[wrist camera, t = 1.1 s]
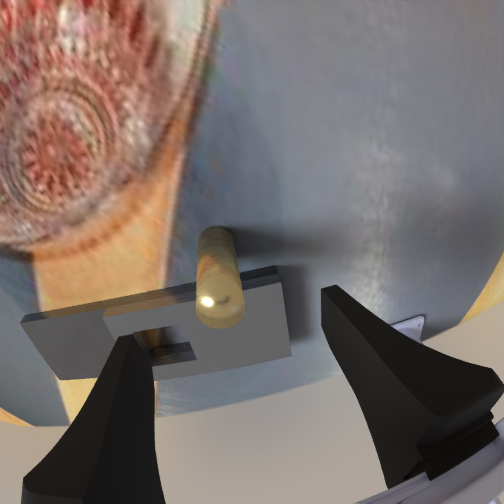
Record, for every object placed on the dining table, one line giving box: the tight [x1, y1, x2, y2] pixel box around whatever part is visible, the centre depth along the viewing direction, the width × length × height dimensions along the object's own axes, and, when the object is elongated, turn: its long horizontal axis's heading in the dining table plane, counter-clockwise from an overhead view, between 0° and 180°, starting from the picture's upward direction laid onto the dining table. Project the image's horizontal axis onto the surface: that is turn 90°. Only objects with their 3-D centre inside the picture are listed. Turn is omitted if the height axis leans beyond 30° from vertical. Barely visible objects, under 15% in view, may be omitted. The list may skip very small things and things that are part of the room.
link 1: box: [20, 282, 197, 380], centre depth 26 cm, size 8×18×1 cm, turn 100°
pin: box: [196, 226, 245, 329], centre depth 20 cm, size 3×3×8 cm
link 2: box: [102, 266, 292, 381], centre depth 26 cm, size 8×14×2 cm, turn 100°
